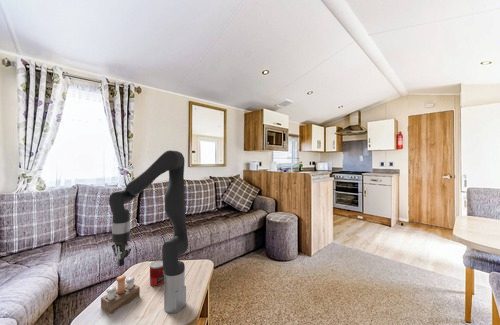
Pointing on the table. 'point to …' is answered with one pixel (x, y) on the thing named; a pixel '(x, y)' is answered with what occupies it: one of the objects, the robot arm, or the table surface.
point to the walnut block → (120, 299)
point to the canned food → (156, 273)
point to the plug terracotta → (121, 284)
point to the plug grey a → (111, 292)
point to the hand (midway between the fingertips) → (121, 265)
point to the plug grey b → (130, 283)
